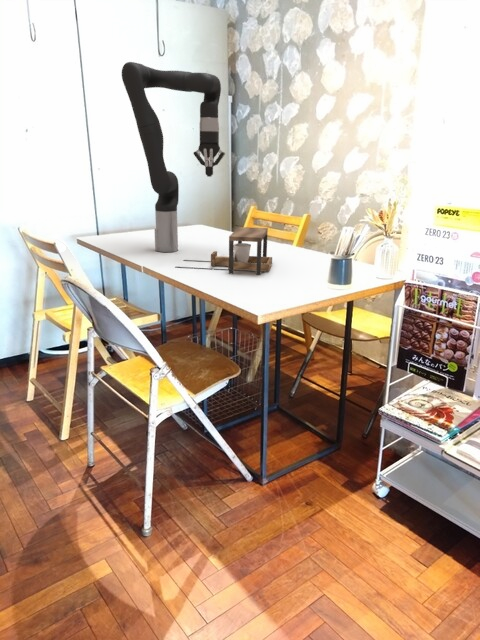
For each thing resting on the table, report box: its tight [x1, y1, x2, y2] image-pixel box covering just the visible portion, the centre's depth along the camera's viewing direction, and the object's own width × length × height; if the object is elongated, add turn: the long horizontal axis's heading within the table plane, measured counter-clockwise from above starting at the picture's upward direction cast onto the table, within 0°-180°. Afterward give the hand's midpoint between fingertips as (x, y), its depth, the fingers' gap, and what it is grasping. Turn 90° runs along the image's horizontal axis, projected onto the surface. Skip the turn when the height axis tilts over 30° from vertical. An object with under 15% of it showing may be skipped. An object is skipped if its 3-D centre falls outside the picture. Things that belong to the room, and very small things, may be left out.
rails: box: [174, 259, 266, 273], centre depth 192 cm, size 34×13×1 cm, turn 81°
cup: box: [233, 242, 252, 263], centre depth 192 cm, size 7×10×8 cm
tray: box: [210, 250, 273, 272], centre depth 191 cm, size 22×13×4 cm, turn 81°
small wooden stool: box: [228, 226, 269, 276], centre depth 189 cm, size 12×22×14 cm, turn 171°
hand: (209, 176), depth 201 cm, fingers closed
